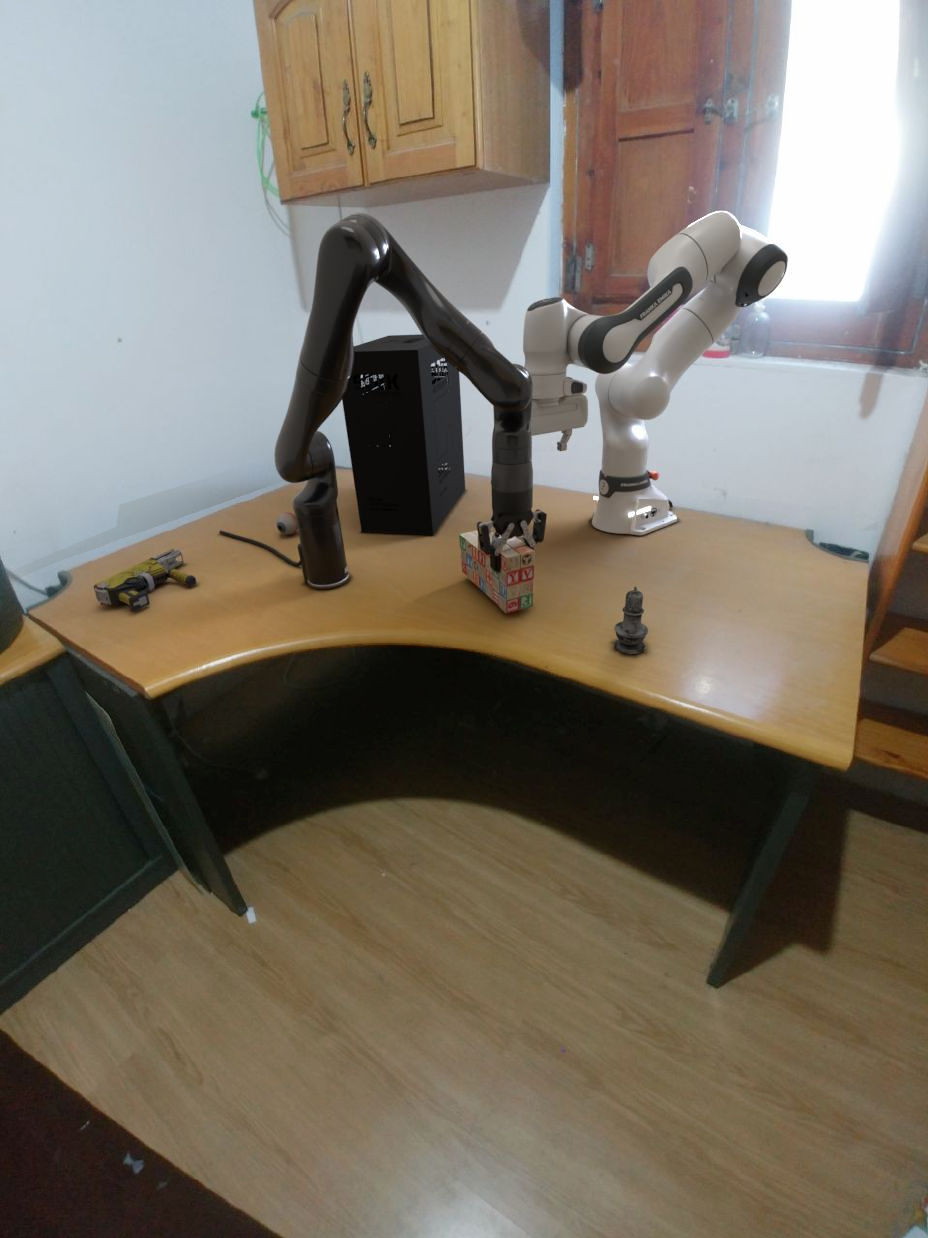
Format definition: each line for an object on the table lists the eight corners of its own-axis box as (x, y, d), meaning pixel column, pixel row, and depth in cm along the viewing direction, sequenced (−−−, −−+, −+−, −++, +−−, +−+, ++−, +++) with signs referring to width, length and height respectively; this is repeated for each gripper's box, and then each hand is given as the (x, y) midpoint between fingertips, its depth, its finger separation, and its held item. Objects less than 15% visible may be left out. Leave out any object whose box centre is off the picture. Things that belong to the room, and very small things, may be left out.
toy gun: (219, 557, 146) (169, 546, 150) (142, 598, 126) (87, 585, 129) (222, 574, 148) (172, 563, 152) (147, 618, 128) (92, 604, 132)
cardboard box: (433, 535, 159) (417, 349, 136) (361, 532, 163) (335, 352, 141) (465, 489, 190) (457, 332, 168) (404, 488, 195) (388, 335, 172)
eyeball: (273, 537, 164) (268, 516, 161) (287, 528, 169) (282, 508, 166) (291, 539, 161) (286, 518, 158) (305, 530, 166) (301, 510, 163)
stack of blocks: (460, 572, 135) (458, 520, 129) (485, 566, 137) (484, 514, 131) (506, 614, 118) (506, 556, 112) (534, 606, 120) (535, 549, 114)
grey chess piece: (647, 656, 105) (654, 595, 99) (612, 653, 107) (618, 593, 101) (645, 638, 110) (652, 579, 104) (612, 636, 111) (617, 578, 105)
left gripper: (486, 496, 104) (488, 583, 112) (557, 482, 109) (554, 566, 117) (467, 485, 110) (470, 568, 118) (535, 472, 115) (534, 552, 123)
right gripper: (507, 395, 119) (508, 464, 126) (593, 383, 126) (590, 449, 133) (492, 390, 124) (494, 458, 131) (576, 379, 131) (574, 443, 138)
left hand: (512, 567), depth 118 cm, fingers closed on stack of blocks, 6 cm apart
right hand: (543, 453), depth 132 cm, fingers open, 8 cm apart
